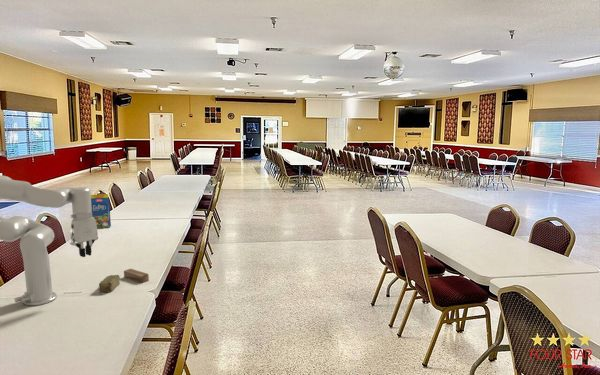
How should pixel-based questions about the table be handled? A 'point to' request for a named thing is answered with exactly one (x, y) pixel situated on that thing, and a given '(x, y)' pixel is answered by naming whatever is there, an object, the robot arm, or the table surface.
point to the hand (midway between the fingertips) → (85, 255)
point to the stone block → (109, 283)
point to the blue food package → (101, 210)
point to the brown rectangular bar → (136, 275)
